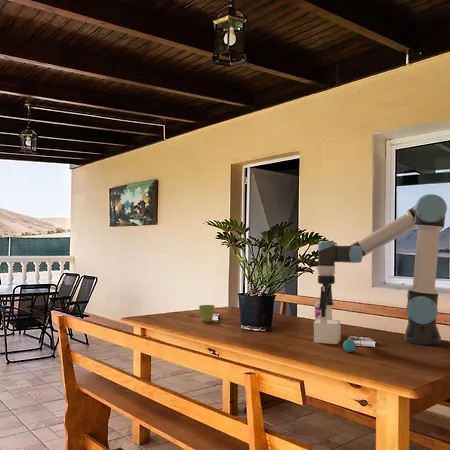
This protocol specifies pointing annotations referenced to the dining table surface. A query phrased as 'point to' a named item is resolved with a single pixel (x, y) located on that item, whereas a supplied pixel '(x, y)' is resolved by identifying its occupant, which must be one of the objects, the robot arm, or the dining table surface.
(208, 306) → the plant pot
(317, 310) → the supplement can
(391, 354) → the dining table surface
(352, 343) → the ball
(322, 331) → the off-white square block
